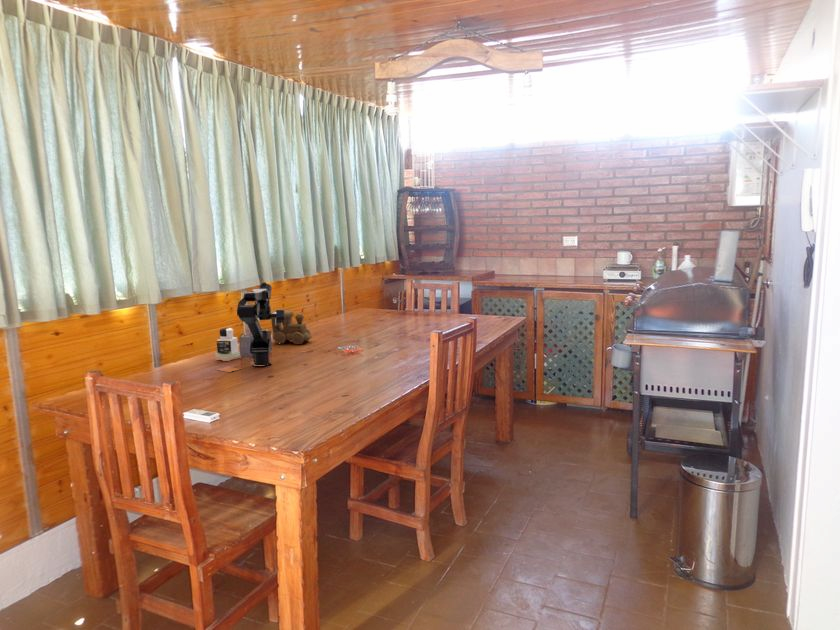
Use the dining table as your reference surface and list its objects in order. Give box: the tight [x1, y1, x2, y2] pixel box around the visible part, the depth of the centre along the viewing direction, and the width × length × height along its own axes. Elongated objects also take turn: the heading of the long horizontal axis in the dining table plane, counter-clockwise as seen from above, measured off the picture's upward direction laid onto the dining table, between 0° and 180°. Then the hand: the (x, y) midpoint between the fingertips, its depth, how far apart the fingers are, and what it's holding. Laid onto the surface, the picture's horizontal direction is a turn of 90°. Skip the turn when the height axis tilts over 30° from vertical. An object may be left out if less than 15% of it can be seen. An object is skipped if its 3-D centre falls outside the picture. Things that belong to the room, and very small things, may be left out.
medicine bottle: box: [216, 327, 239, 355], centre depth 282 cm, size 7×7×12 cm
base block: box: [214, 351, 241, 359], centre depth 283 cm, size 8×8×3 cm
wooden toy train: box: [270, 310, 313, 345], centre depth 315 cm, size 20×11×17 cm, turn 77°
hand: (266, 326), depth 292 cm, fingers open, 9 cm apart
